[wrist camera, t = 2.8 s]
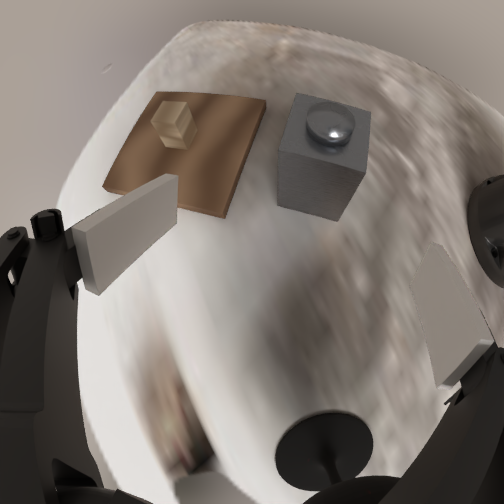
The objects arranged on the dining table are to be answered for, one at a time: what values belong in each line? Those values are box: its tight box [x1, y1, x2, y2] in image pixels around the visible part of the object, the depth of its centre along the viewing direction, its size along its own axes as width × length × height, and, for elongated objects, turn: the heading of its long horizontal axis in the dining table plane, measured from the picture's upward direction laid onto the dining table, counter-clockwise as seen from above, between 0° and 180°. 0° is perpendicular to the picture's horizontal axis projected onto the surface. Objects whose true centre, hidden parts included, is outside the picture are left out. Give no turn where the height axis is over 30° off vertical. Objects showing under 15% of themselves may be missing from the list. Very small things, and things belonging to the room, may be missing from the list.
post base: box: [102, 92, 266, 219], centre depth 28 cm, size 16×16×6 cm
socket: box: [277, 93, 371, 221], centre depth 23 cm, size 6×6×11 cm
